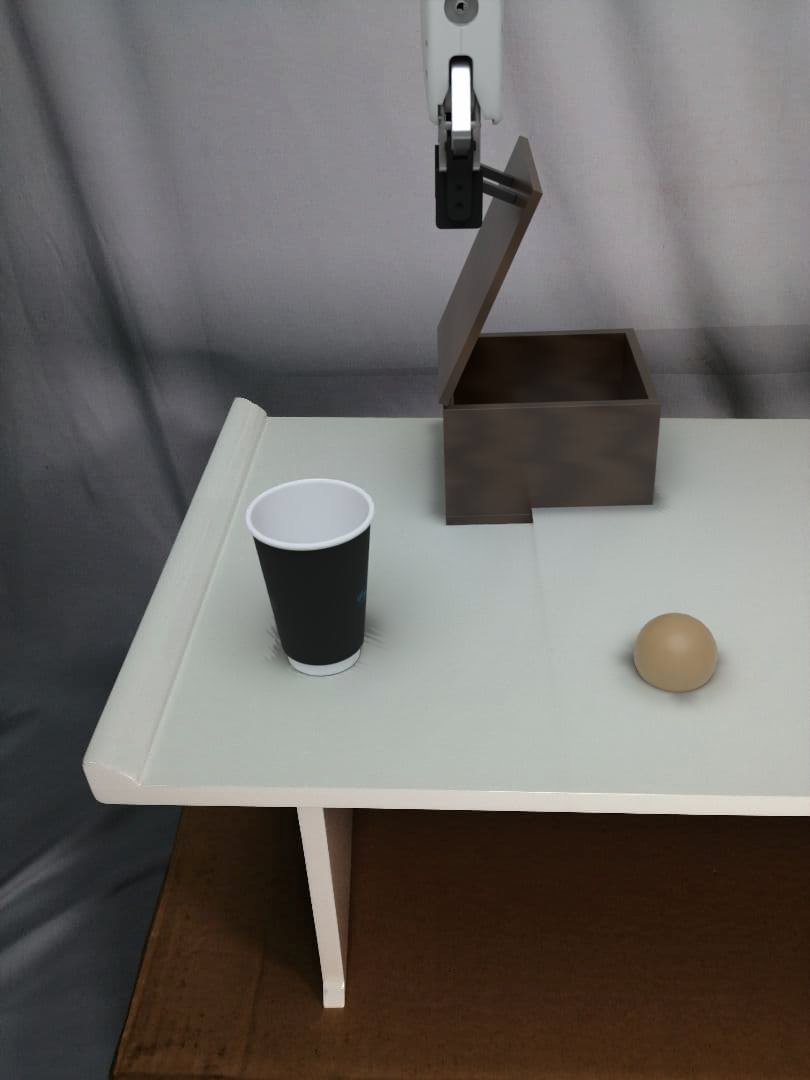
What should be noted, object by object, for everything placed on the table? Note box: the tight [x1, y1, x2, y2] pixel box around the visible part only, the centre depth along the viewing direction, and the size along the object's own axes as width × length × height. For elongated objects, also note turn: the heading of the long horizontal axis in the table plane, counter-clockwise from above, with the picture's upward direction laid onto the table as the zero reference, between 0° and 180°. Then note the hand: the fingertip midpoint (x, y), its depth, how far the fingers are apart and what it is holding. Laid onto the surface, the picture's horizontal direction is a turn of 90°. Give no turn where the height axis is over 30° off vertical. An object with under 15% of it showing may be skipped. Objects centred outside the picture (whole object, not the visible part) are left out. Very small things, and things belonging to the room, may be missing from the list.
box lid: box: [436, 135, 544, 406], centre depth 85 cm, size 16×14×5 cm
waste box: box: [442, 327, 662, 526], centre depth 92 cm, size 16×14×10 cm
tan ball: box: [633, 612, 719, 693], centre depth 72 cm, size 5×5×5 cm
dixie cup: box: [244, 477, 376, 677], centre depth 74 cm, size 8×8×11 cm
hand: (457, 211), depth 83 cm, fingers closed on box lid, 5 cm apart
